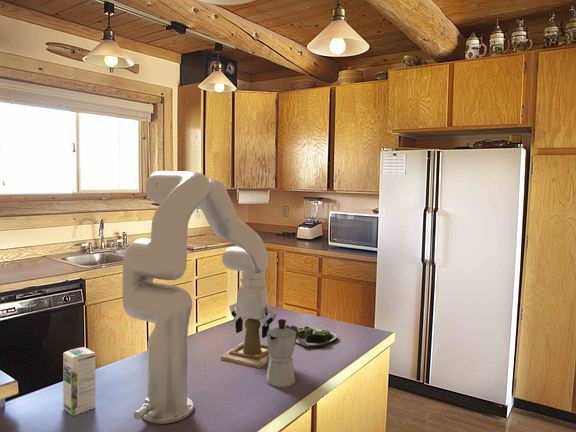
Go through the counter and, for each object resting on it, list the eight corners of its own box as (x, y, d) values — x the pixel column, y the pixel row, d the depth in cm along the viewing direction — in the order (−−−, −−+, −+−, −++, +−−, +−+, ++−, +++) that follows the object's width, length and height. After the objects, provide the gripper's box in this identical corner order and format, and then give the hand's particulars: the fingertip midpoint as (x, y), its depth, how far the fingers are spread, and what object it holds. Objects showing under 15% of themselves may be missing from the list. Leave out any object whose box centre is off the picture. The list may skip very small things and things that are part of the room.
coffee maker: (281, 393, 123) (283, 329, 121) (255, 385, 127) (256, 322, 126) (308, 374, 136) (309, 315, 134) (283, 367, 140) (284, 310, 139)
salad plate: (271, 338, 166) (271, 326, 166) (303, 327, 179) (303, 316, 179) (312, 353, 153) (312, 340, 152) (343, 340, 166) (343, 328, 165)
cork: (258, 356, 145) (259, 322, 144) (240, 354, 146) (241, 321, 145) (263, 349, 151) (264, 317, 150) (246, 347, 152) (246, 315, 151)
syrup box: (62, 408, 112) (61, 352, 111) (85, 400, 116) (85, 345, 115) (73, 417, 108) (72, 358, 107) (96, 407, 113) (96, 351, 112)
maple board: (259, 368, 139) (259, 361, 139) (220, 359, 145) (220, 353, 144) (281, 350, 153) (281, 345, 153) (246, 343, 159) (246, 338, 159)
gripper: (224, 281, 147) (223, 333, 148) (271, 288, 140) (270, 342, 141) (236, 277, 154) (235, 326, 155) (282, 283, 147) (280, 335, 148)
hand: (251, 334), depth 148 cm, fingers open, 9 cm apart
